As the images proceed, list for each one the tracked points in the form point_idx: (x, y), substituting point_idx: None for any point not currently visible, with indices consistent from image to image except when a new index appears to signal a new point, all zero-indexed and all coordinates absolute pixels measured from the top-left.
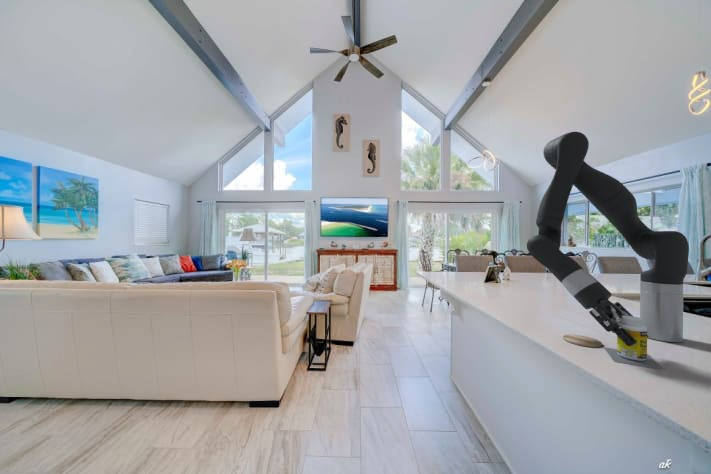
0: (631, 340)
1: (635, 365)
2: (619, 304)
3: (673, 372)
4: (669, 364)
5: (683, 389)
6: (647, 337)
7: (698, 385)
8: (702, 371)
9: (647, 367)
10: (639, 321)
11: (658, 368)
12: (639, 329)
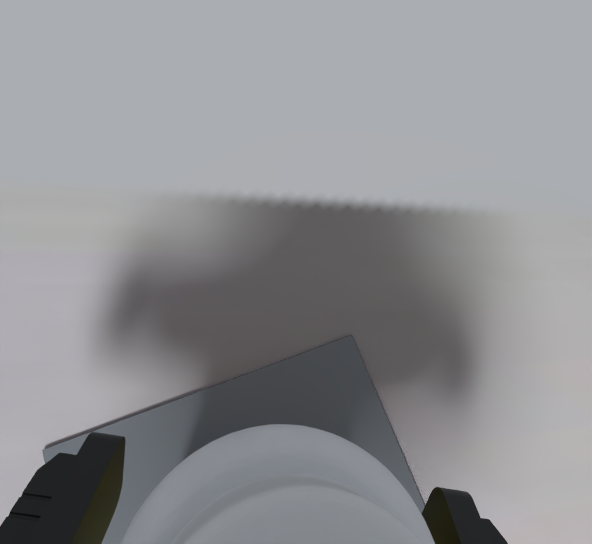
0: (492, 529)
1: (409, 472)
2: None
3: (345, 304)
4: (196, 325)
5: (560, 269)
6: (120, 440)
7: (445, 224)
8: (188, 200)
9: (382, 413)
10: (397, 518)
11: (357, 364)
12: (404, 492)
